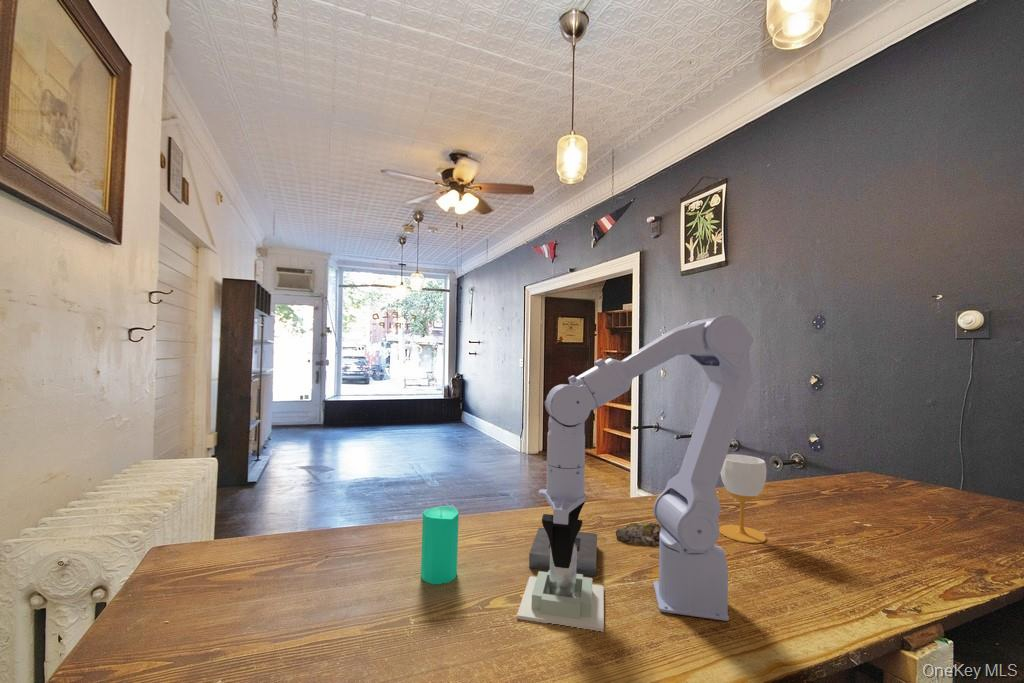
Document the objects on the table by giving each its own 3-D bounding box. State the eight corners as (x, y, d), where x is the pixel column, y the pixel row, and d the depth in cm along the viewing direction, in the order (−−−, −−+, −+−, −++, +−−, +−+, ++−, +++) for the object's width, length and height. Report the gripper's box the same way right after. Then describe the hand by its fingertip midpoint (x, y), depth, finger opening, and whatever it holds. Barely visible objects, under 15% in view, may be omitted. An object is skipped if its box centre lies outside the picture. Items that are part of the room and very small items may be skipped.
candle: (422, 586, 68) (424, 510, 69) (419, 568, 74) (422, 497, 74) (459, 582, 70) (461, 507, 70) (454, 564, 76) (456, 495, 76)
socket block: (596, 546, 84) (597, 533, 84) (595, 576, 73) (596, 561, 73) (538, 539, 86) (538, 527, 86) (529, 567, 75) (529, 553, 75)
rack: (603, 589, 69) (603, 573, 69) (603, 632, 58) (603, 613, 58) (529, 579, 71) (530, 563, 71) (516, 618, 60) (517, 600, 61)
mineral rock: (652, 517, 94) (671, 521, 87) (655, 539, 93) (675, 544, 86) (606, 521, 92) (622, 526, 85) (609, 543, 91) (625, 550, 84)
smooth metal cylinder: (576, 593, 66) (577, 541, 66) (575, 608, 62) (576, 553, 62) (550, 590, 67) (551, 538, 67) (547, 604, 63) (548, 550, 63)
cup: (710, 531, 93) (711, 457, 93) (731, 522, 98) (731, 452, 98) (754, 547, 85) (755, 466, 86) (774, 536, 91) (774, 460, 91)
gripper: (545, 451, 73) (544, 532, 73) (532, 474, 59) (530, 574, 59) (587, 454, 72) (586, 536, 71) (584, 478, 57) (582, 581, 57)
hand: (564, 554), depth 65 cm, fingers open, 7 cm apart
